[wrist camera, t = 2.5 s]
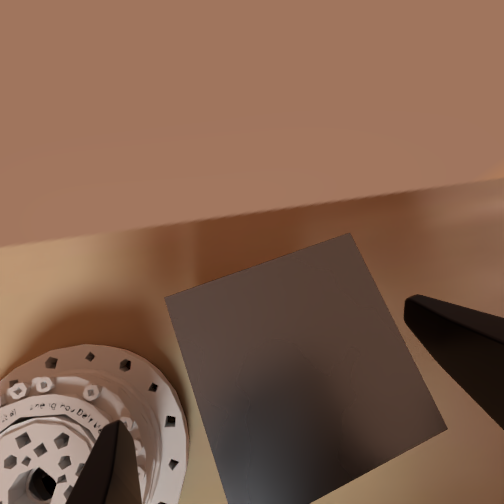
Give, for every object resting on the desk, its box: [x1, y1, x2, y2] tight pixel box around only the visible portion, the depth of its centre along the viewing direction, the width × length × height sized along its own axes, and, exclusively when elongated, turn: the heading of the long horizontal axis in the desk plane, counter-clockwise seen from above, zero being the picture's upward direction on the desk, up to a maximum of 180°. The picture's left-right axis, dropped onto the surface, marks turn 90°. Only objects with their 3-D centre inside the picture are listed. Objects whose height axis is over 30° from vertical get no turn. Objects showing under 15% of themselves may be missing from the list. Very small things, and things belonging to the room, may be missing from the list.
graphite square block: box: [165, 233, 448, 504], centre depth 12 cm, size 4×4×11 cm
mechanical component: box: [0, 344, 189, 504], centre depth 13 cm, size 10×4×10 cm
